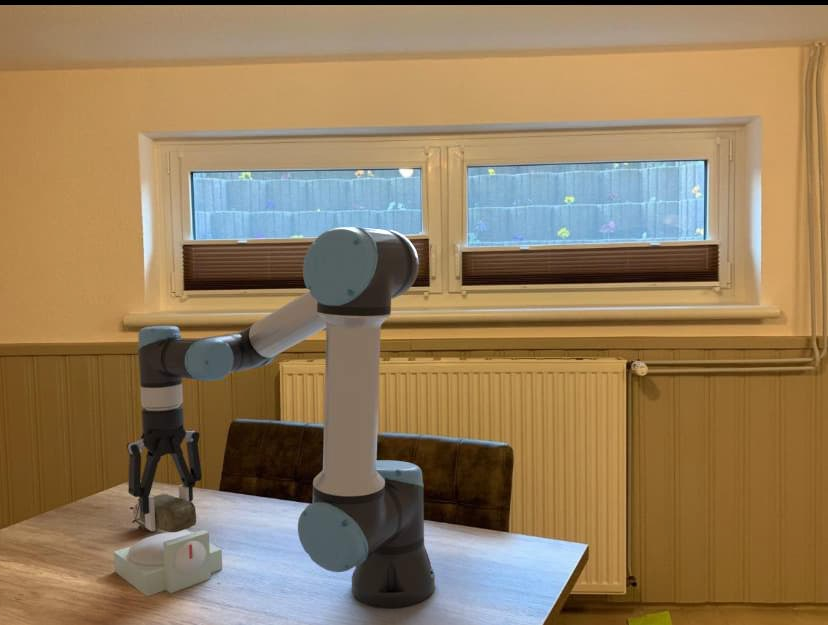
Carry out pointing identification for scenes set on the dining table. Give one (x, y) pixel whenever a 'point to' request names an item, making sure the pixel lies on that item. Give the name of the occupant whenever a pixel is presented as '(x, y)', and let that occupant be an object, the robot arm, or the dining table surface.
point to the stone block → (172, 513)
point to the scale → (168, 561)
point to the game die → (138, 514)
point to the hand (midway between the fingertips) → (168, 523)
